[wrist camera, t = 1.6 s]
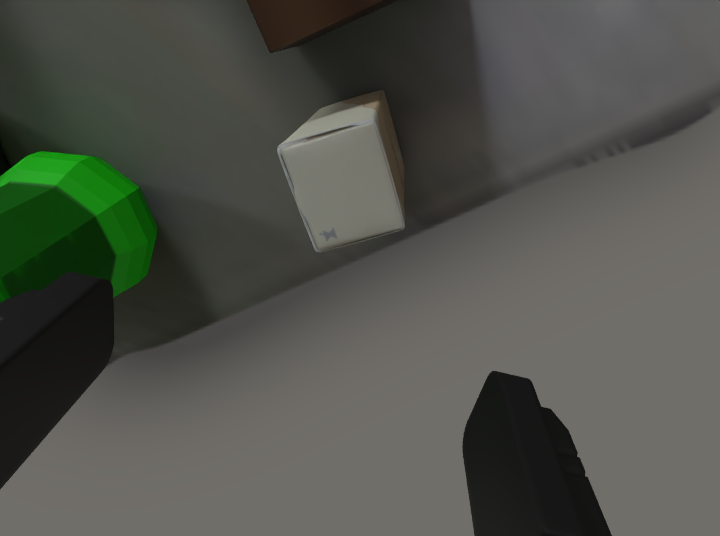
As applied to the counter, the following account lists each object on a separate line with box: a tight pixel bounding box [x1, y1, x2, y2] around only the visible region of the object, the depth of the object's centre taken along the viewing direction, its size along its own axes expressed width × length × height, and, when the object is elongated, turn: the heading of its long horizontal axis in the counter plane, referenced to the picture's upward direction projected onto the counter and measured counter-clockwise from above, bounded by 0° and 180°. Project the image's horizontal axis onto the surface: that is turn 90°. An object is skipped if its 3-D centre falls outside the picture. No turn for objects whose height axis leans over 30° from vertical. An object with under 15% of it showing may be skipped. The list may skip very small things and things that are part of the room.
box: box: [277, 90, 405, 253], centre depth 25 cm, size 5×4×11 cm
